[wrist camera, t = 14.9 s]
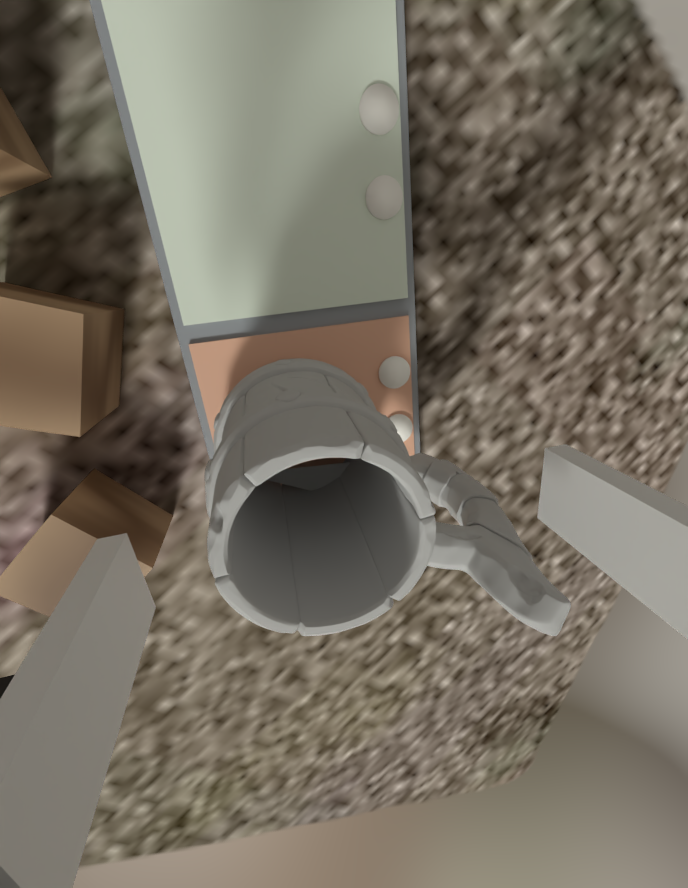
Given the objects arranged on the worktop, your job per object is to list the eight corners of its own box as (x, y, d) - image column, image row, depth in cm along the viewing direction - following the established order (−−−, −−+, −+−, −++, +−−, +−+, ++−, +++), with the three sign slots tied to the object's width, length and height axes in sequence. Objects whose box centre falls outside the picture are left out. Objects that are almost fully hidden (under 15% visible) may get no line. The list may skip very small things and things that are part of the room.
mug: (231, 335, 17) (181, 407, 6) (460, 391, 21) (689, 504, 10) (205, 487, 20) (136, 731, 9) (415, 516, 23) (558, 722, 12)
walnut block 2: (43, 530, 20) (-12, 590, 16) (94, 467, 20) (50, 514, 15) (123, 570, 22) (92, 634, 18) (173, 514, 21) (152, 567, 17)
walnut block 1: (6, 282, 16) (-81, 279, 12) (125, 309, 17) (83, 314, 13) (9, 387, 18) (-68, 416, 13) (119, 405, 19) (80, 436, 15)
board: (90, -22, 14) (72, -53, 12) (393, -23, 15) (405, -51, 14) (236, 546, 23) (235, 561, 21) (416, 509, 24) (424, 520, 23)
